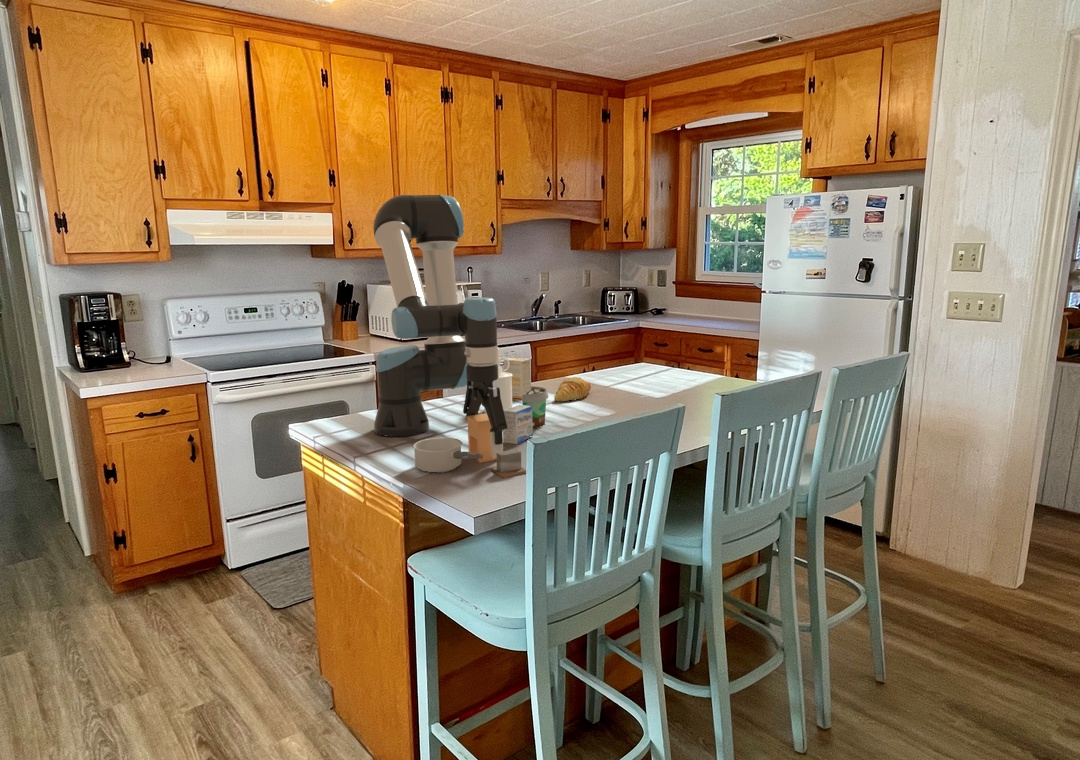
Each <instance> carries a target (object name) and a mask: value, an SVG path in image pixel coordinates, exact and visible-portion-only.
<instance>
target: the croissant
mask: <svg viewBox="0 0 1080 760" xmlns="http://www.w3.org/2000/svg"><path fill="white" fill-rule="evenodd" d="M591 388H592V387H591V383H590V382H587V381H586V380H584V379H582V378H581V377H576V376H575V377H570V378H567V379H565V380H563V381H562V382H560V385H559V387H558V388H557V391H556V393H555V395H554V400H555V401H556V402H569V400H572V401H576V400H575V399H579V400H582V399H584V398H586V397H587V396H588V394H589V392H590V391H591ZM585 396H586V397H585ZM583 397H584V398H583Z"/></svg>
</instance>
